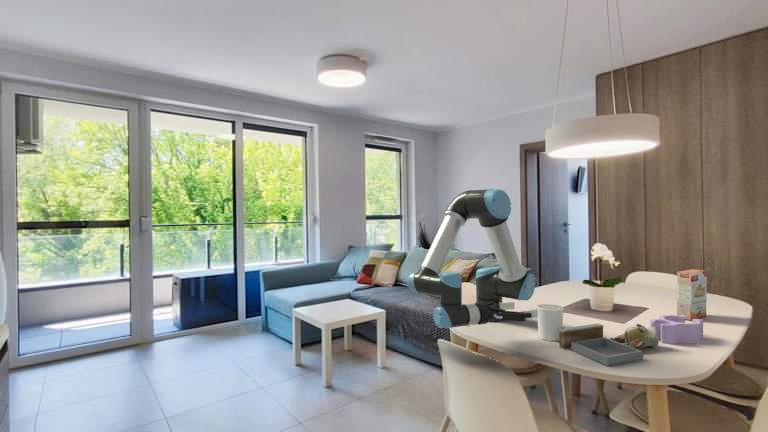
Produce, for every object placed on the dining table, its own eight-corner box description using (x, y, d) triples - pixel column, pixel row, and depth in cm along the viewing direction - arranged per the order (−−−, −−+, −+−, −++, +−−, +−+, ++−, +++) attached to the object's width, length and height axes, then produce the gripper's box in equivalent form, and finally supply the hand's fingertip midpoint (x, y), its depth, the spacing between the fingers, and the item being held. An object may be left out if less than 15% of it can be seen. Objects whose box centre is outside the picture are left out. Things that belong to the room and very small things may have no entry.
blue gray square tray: (571, 350, 136) (571, 342, 136) (604, 345, 141) (604, 337, 141) (607, 366, 122) (607, 357, 122) (643, 360, 126) (643, 351, 126)
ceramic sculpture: (668, 326, 133) (628, 331, 132) (670, 350, 133) (630, 356, 132) (644, 317, 144) (607, 322, 142) (646, 340, 144) (609, 345, 142)
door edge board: (559, 346, 140) (558, 328, 140) (598, 340, 145) (598, 323, 145) (564, 349, 138) (563, 330, 137) (603, 342, 143) (603, 325, 143)
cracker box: (692, 321, 167) (692, 273, 166) (676, 318, 172) (676, 271, 172) (707, 316, 173) (707, 270, 173) (692, 313, 179) (691, 268, 178)
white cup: (541, 332, 157) (540, 302, 157) (567, 336, 151) (566, 306, 150) (533, 338, 149) (532, 307, 149) (560, 343, 143) (559, 311, 143)
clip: (673, 347, 138) (673, 327, 137) (640, 336, 149) (640, 318, 149) (710, 339, 144) (710, 321, 144) (675, 330, 156) (675, 313, 156)
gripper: (458, 315, 151) (505, 311, 158) (495, 334, 128) (548, 328, 134) (458, 296, 151) (505, 292, 158) (494, 312, 128) (548, 306, 134)
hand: (525, 309), depth 146 cm, fingers open, 13 cm apart
